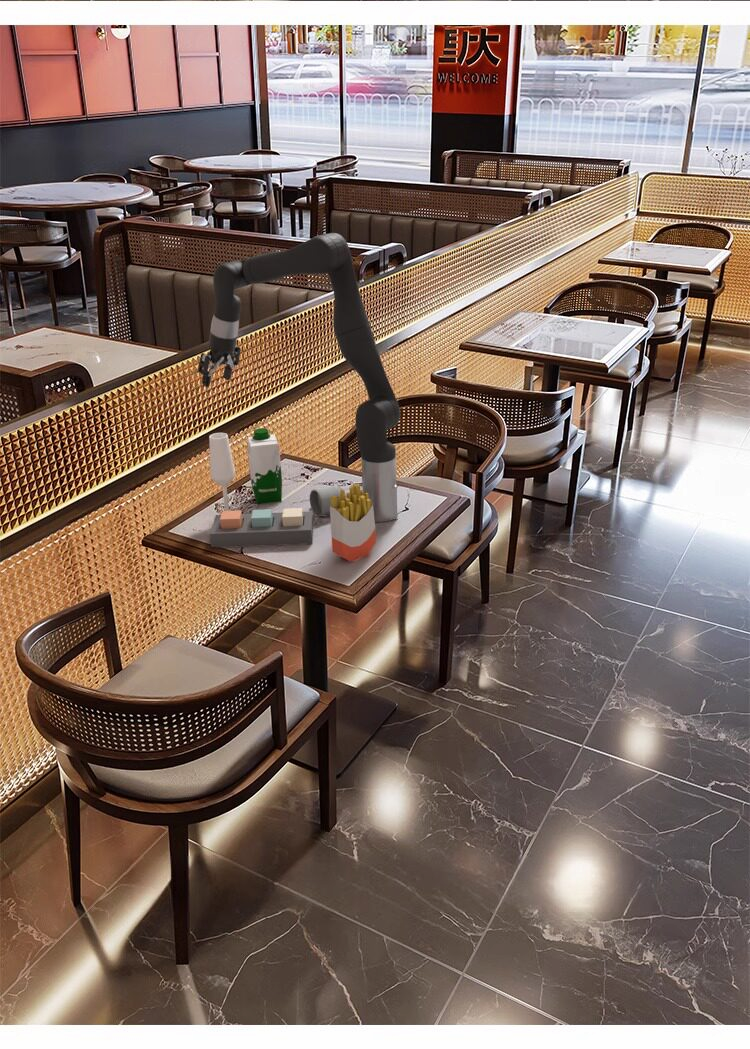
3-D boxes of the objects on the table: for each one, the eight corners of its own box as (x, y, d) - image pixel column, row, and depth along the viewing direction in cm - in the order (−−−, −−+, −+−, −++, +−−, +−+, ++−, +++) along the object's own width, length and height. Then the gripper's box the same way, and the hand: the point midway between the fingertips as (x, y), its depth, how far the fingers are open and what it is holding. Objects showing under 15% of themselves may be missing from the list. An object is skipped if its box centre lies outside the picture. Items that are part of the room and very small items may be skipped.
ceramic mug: (348, 513, 238) (347, 487, 234) (323, 520, 234) (321, 494, 230) (329, 501, 246) (327, 476, 242) (304, 508, 242) (302, 483, 238)
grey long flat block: (314, 524, 232) (313, 511, 230) (312, 543, 222) (311, 529, 220) (217, 528, 231) (215, 514, 230) (211, 547, 221) (209, 533, 220)
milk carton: (280, 490, 253) (275, 426, 244) (285, 502, 245) (279, 436, 236) (251, 494, 251) (244, 429, 242) (254, 506, 243) (247, 440, 234)
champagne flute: (216, 513, 240) (206, 432, 229) (240, 511, 240) (231, 430, 230) (214, 524, 234) (204, 441, 223) (239, 522, 234) (230, 439, 224)
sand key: (303, 519, 227) (302, 508, 226) (302, 528, 223) (301, 516, 221) (284, 520, 227) (283, 508, 226) (283, 528, 223) (282, 517, 221)
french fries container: (377, 551, 217) (375, 486, 209) (344, 566, 210) (341, 499, 202) (364, 545, 220) (362, 480, 212) (332, 560, 213) (328, 494, 205)
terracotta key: (242, 522, 227) (241, 510, 226) (240, 530, 223) (239, 518, 221) (224, 522, 227) (222, 511, 226) (221, 531, 223) (220, 519, 221)
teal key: (273, 520, 227) (272, 509, 226) (271, 529, 223) (270, 517, 221) (254, 521, 227) (253, 509, 226) (252, 530, 223) (251, 518, 221)
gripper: (215, 342, 234) (208, 394, 243) (251, 332, 244) (242, 382, 253) (196, 330, 236) (189, 382, 245) (232, 321, 247) (224, 371, 256)
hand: (216, 382), depth 249 cm, fingers open, 8 cm apart
